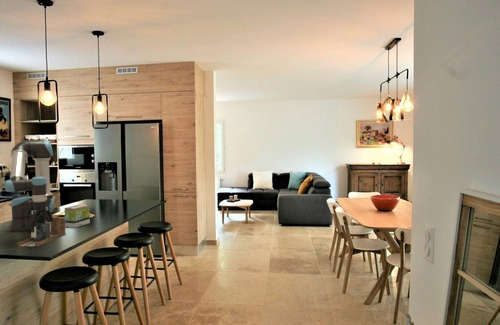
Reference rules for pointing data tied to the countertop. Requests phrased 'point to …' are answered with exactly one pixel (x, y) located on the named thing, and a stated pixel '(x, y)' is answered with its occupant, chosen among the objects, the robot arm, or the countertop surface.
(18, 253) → the countertop surface
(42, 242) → the track
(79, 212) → the tea box
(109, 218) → the countertop surface
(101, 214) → the countertop surface
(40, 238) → the box
